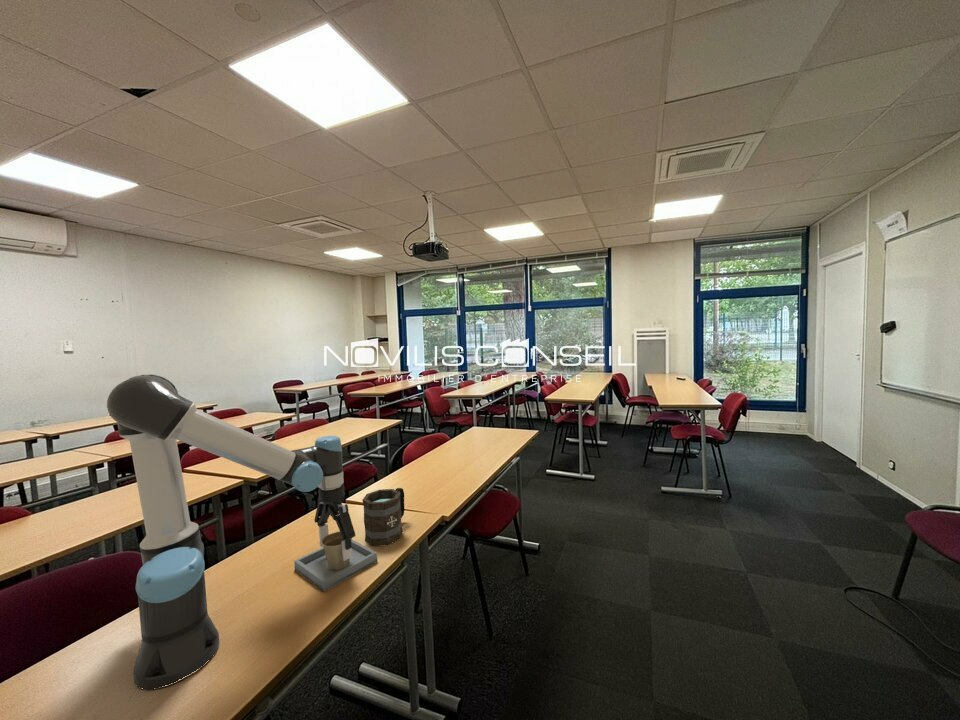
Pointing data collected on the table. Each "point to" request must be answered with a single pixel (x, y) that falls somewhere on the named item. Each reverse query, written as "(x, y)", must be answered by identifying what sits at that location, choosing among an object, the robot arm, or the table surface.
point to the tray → (324, 578)
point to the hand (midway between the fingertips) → (335, 551)
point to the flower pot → (334, 551)
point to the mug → (383, 516)
